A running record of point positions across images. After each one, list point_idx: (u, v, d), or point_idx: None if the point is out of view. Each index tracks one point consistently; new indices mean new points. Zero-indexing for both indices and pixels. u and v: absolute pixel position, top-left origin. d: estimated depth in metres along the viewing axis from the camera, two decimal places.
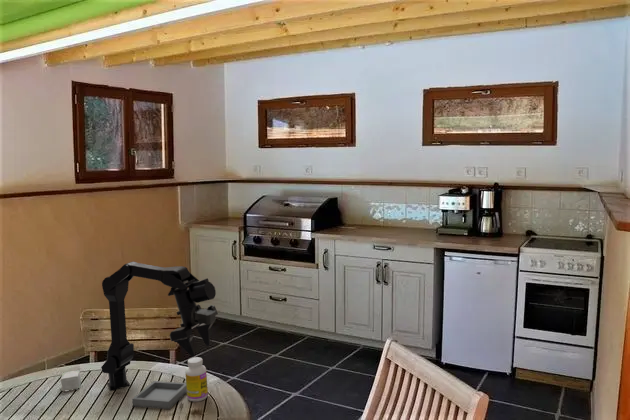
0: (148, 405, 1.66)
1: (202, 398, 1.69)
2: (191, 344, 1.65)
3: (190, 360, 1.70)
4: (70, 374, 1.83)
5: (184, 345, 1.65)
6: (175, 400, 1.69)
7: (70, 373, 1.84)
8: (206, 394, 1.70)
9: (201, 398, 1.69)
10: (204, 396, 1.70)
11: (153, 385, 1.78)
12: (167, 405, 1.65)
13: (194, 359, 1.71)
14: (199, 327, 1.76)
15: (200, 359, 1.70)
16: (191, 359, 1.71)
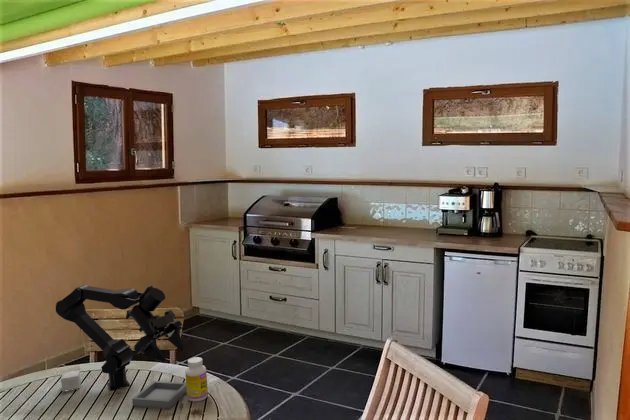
0: (148, 405, 1.66)
1: (202, 398, 1.69)
2: (157, 349, 1.69)
3: (190, 360, 1.70)
4: (70, 374, 1.83)
5: (152, 354, 1.69)
6: (175, 400, 1.69)
7: (70, 373, 1.84)
8: (206, 393, 1.70)
9: (201, 398, 1.69)
10: (204, 396, 1.70)
11: (153, 385, 1.78)
12: (167, 405, 1.65)
13: (194, 359, 1.71)
14: (170, 338, 1.80)
15: (200, 359, 1.70)
16: (191, 359, 1.71)
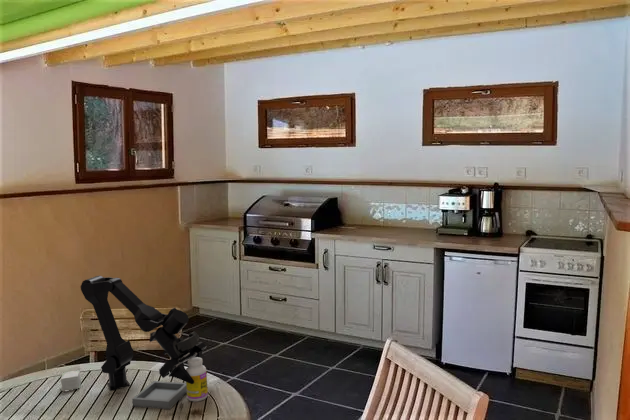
0: (148, 405, 1.66)
1: (202, 398, 1.69)
2: (185, 372, 1.67)
3: (190, 360, 1.70)
4: (70, 374, 1.83)
5: (180, 376, 1.67)
6: (175, 400, 1.69)
7: (70, 373, 1.84)
8: (206, 393, 1.70)
9: (201, 398, 1.69)
10: (204, 396, 1.70)
11: (153, 385, 1.78)
12: (167, 405, 1.65)
13: (194, 359, 1.71)
14: None
15: (200, 359, 1.70)
16: (191, 359, 1.71)
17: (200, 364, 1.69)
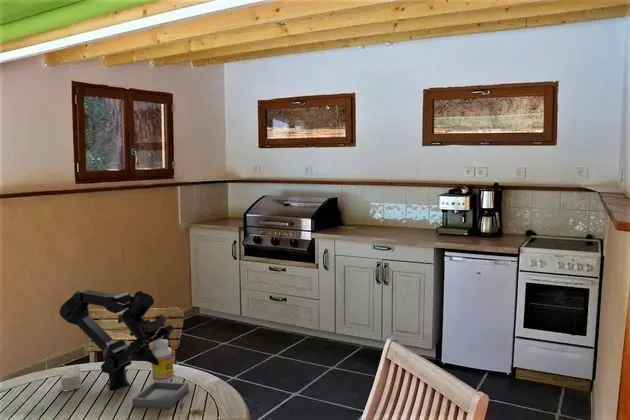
0: (148, 405, 1.66)
1: (167, 379, 1.71)
2: (150, 353, 1.69)
3: (156, 342, 1.72)
4: (70, 374, 1.83)
5: (145, 357, 1.69)
6: (175, 400, 1.69)
7: (70, 373, 1.84)
8: (171, 375, 1.72)
9: (166, 379, 1.71)
10: (169, 377, 1.72)
11: (153, 385, 1.78)
12: (167, 405, 1.65)
13: (160, 341, 1.73)
14: None
15: (166, 341, 1.72)
16: (157, 341, 1.73)
17: (166, 346, 1.71)
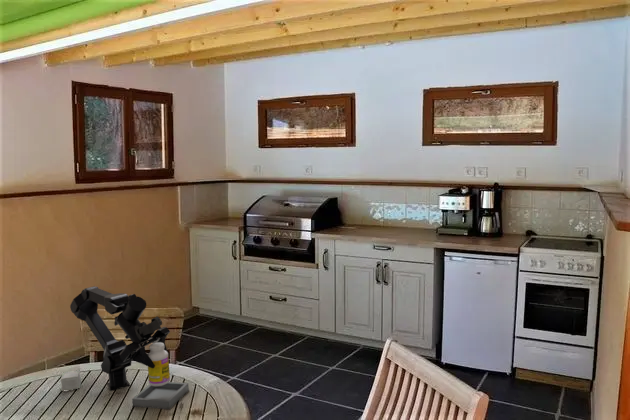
0: (148, 405, 1.66)
1: (163, 383, 1.69)
2: (146, 356, 1.67)
3: (152, 345, 1.70)
4: (70, 374, 1.83)
5: (141, 360, 1.68)
6: (175, 400, 1.69)
7: (70, 373, 1.84)
8: (167, 379, 1.71)
9: (162, 383, 1.69)
10: (165, 381, 1.70)
11: None
12: (167, 405, 1.65)
13: (156, 344, 1.71)
14: None
15: (162, 344, 1.71)
16: (153, 344, 1.71)
17: (162, 349, 1.70)
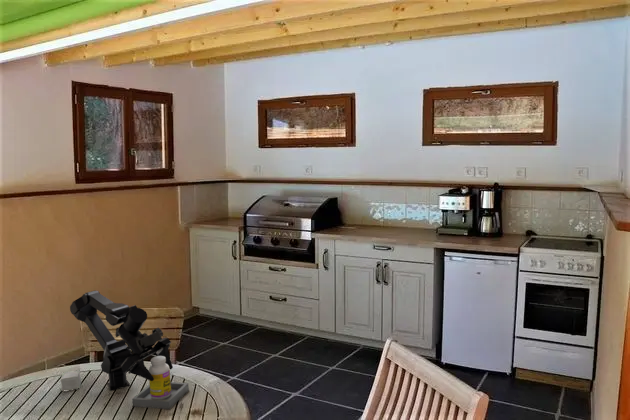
0: (148, 405, 1.66)
1: (165, 396, 1.70)
2: (145, 369, 1.66)
3: (153, 359, 1.71)
4: (70, 374, 1.83)
5: (140, 373, 1.67)
6: (175, 400, 1.69)
7: (70, 373, 1.84)
8: (169, 392, 1.71)
9: (164, 396, 1.70)
10: (167, 394, 1.71)
11: None
12: (167, 405, 1.65)
13: (157, 358, 1.72)
14: None
15: (163, 358, 1.71)
16: (154, 358, 1.72)
17: (163, 363, 1.70)
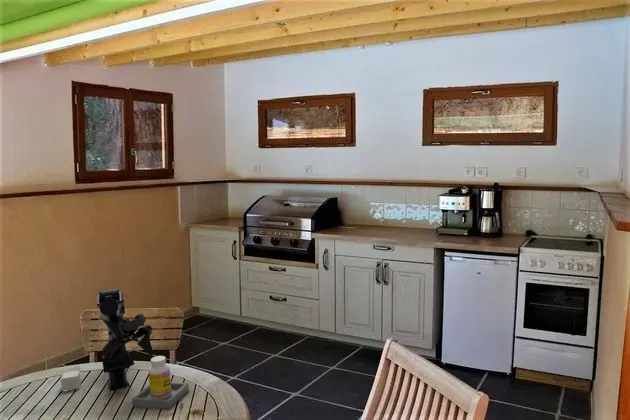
0: (148, 405, 1.66)
1: (165, 396, 1.70)
2: (126, 353, 1.68)
3: (153, 359, 1.71)
4: (70, 374, 1.83)
5: (121, 357, 1.69)
6: (175, 400, 1.69)
7: (70, 373, 1.84)
8: (169, 392, 1.71)
9: (164, 396, 1.70)
10: (167, 394, 1.71)
11: None
12: (167, 405, 1.65)
13: (157, 358, 1.72)
14: (139, 342, 1.80)
15: (163, 358, 1.71)
16: (154, 358, 1.72)
17: (163, 363, 1.70)
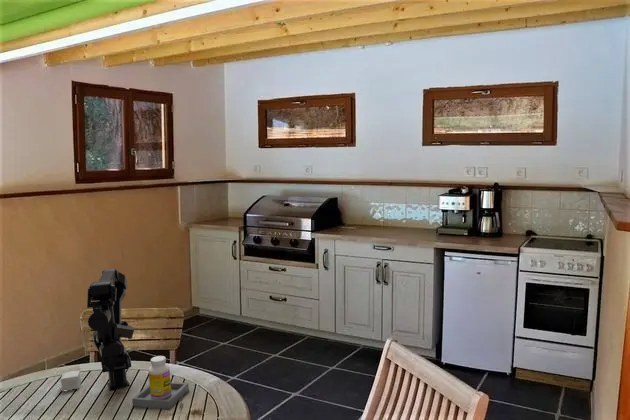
0: (148, 405, 1.66)
1: (165, 396, 1.70)
2: None
3: (153, 359, 1.71)
4: (70, 374, 1.83)
5: (108, 360, 1.64)
6: (175, 400, 1.69)
7: (70, 373, 1.84)
8: (169, 392, 1.71)
9: (164, 396, 1.70)
10: (167, 394, 1.71)
11: None
12: (167, 405, 1.65)
13: (157, 358, 1.72)
14: (99, 344, 1.73)
15: (163, 358, 1.71)
16: (154, 358, 1.72)
17: (163, 363, 1.70)
